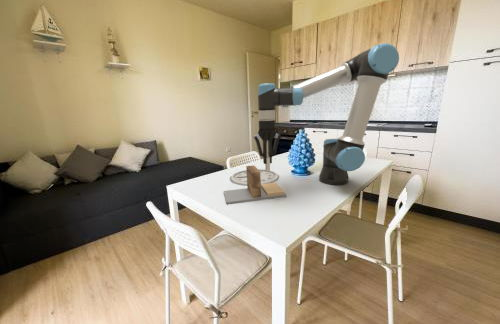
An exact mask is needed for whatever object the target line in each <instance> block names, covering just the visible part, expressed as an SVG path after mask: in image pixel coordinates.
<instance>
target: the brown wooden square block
mask: <svg viewBox="0 0 500 324" xmlns="http://www.w3.org/2000/svg"><path fill="white" fill-rule="evenodd" d="M245 168H246V169H245V170H247V186H246V188H248V191H249V192H250V194H251V196H252V198H257V197H261V178H260V171H259V170H258V169H259V168H257V167H256V166H255V165H246V167H245Z"/></svg>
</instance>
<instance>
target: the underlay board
mask: <svg viewBox="0 0 500 324" xmlns="http://www.w3.org/2000/svg"><path fill="white" fill-rule="evenodd" d="M223 195H224V199H225V203H226V205H232V204H241V203H247V202H248V203H250V202H257V201H263V200H265V201H266V200H270V199H272V200H273V199H280V198H286V197H287V196H288V194H287V193H286V192H285V191H284V189H282V187H280V185H279V184H277V181H276V182H274V183H267V184H261V197H257V198H252V196H251V194H250V192H249V191H248V188H247V187H246V188H245V187H244V188H236V189H230V190H223Z"/></svg>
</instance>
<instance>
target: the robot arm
mask: <svg viewBox="0 0 500 324" xmlns="http://www.w3.org/2000/svg"><path fill="white" fill-rule="evenodd" d="M399 62H400V54H399V51H398V49H397V48H396V46H394V45H393V44H391V43H387V42H386V43H385V42H384V43H380V44H376V45H374V46H372V47H371V48H369V49H366V50H365V51H362V52H361V53H359V54H357V55H355V56H354V57H352V58H349V60H346V61H345V62H342V63H341V65H340V66H338V67H335V68H333V69H331V70H327V71H326V72H323V73H321V74H319V75H317V76H314V77H311V78H309V79H307V80H304V81H302V82H299V83H296V84H294V85H292V86H289V87H283V88H282V87H280V88H279V87H276V84H275V83H272V82H271V83H269V82H268V83H260V84H259V85H258V86H257V87H258V88H257V101H258V102H257V105H258V120H259V121H258V132H257V134H255V135H253V136H252V138H253V139H254V141H255V143H256V147H257V150H258V152H257V153H258V155H259V156H260V157H262V160H263V161H262V162H263V164H264V165H265V169H264V170H266V171H271V164H272V163H273V157H274V156H276V155H277V149H278V146H279V142H280V139H281V138H282V135H281V134H279V133H277V130H276V120H275V119H276V107H281V106H282V107H287V106H289V107H290V106H291V107H292V106H296V107H297V106H301V105H302V104H303V103H304V102H303V101H304V99H305V98H308V97H311V96H313V95H315V94H318V93H320V92H323V91H325V90H328V89H329V88H333V87H336V86H338V85H340V84H342V83H345V82H346V83H351V82H354V81H358V85H357V87H356V91H355V94H354V97H353V101H352V105H351V107H350V111H349V113H348V117H347V121H346V123H345V126H344V130H343V133H342V135H341V136H339V137H338V138H326V139H324V141H323V146H322V147H323V153H322V155H323V156H322V168H321V170H320V172H319V175H318V181H319V182H321V183H322V184H327V185H332V186H333V185H334V186H340V185H341V186H342V185H346V184H348V183H349V180H350V178H349V173H348V172H354V171H357V170H358V169H360V168H361V167H362V166H363V165H364V163H365V161H366V155H365V151H364V148H365V141H364V140H363V139H364V137H365V133H366V131H367V127H368V124H369V121H370V119H371V115H372V113H373V109H374V106H375V103H376V101H377V97H378V95H379V91H380V88H381V86H382V85H383V84H386V82H387V80H388V77H389V75H390V74H389V73H392V72H393V71H394V70H395V69H396V68H397V66H398V65H399ZM274 138H275V139H274ZM260 139H261V140H262V145H261V142H260ZM273 139H274V141H273Z"/></svg>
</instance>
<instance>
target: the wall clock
mask: <svg viewBox="0 0 500 324" xmlns="http://www.w3.org/2000/svg"><path fill="white" fill-rule="evenodd" d="M257 169H258V170H259V171H260V178H261V184H267V183H275V182H276V183H277V182H278V181H279V179H280V175H279V174H278V173H276V172H274V171H272V170H270V171H266V170H265V169H259V168H257ZM229 182H231V183H232V184H235V185H237V186H244V187H247V169H245V170H241V171H238V172H235V173H233V174H232V175H231V176H230V177H229Z"/></svg>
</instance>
